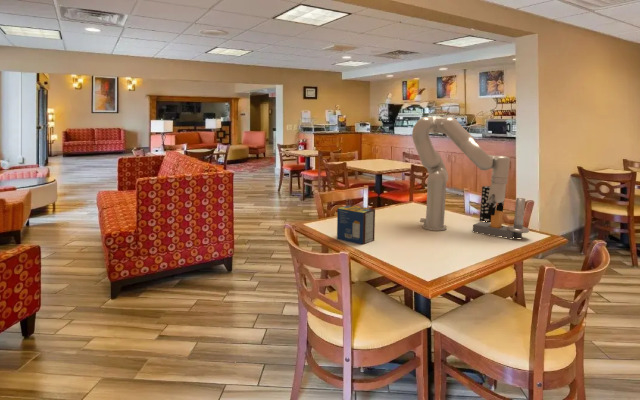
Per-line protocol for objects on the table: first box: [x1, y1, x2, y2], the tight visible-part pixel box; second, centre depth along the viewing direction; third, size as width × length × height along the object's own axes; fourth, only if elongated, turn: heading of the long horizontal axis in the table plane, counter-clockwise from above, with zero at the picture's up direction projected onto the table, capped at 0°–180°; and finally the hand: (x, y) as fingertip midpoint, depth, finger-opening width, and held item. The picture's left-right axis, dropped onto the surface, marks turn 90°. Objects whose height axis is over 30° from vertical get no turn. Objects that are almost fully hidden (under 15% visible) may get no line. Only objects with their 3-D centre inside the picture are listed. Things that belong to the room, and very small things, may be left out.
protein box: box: [336, 204, 376, 245], centre depth 204 cm, size 10×15×16 cm
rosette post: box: [507, 197, 530, 238], centre depth 208 cm, size 10×10×20 cm
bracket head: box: [472, 221, 514, 238], centre depth 217 cm, size 20×9×4 cm, turn 45°
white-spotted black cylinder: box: [479, 185, 497, 223], centre depth 245 cm, size 8×8×20 cm
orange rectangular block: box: [490, 210, 504, 228], centre depth 216 cm, size 4×4×12 cm
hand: (495, 213), depth 216 cm, fingers open, 9 cm apart
